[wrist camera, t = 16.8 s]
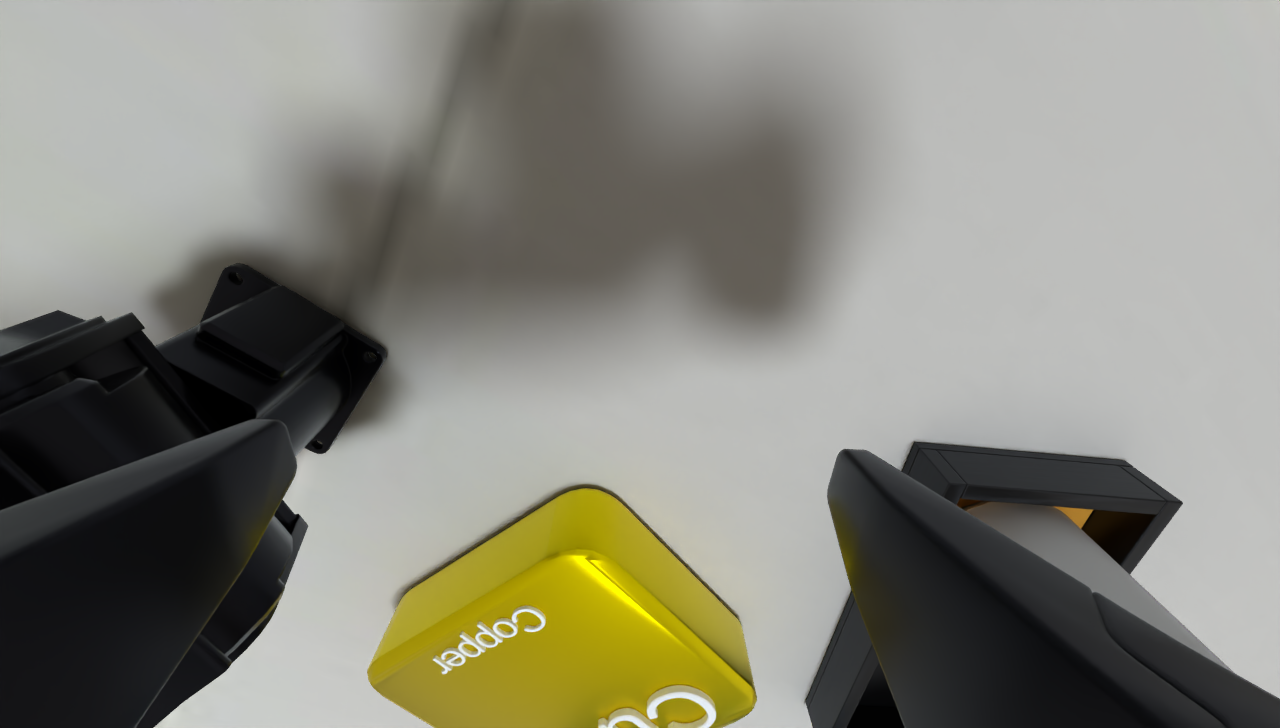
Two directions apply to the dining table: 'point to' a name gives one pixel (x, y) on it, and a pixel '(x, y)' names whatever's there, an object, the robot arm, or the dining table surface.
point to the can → (1082, 562)
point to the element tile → (566, 632)
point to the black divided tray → (1078, 486)
